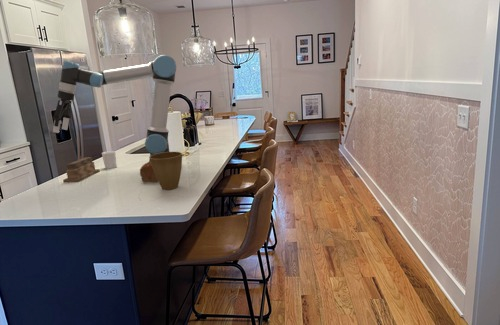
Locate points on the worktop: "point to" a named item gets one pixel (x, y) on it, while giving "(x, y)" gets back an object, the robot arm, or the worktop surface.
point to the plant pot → (167, 168)
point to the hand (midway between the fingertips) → (60, 130)
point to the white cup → (109, 159)
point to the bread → (147, 173)
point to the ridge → (80, 170)
